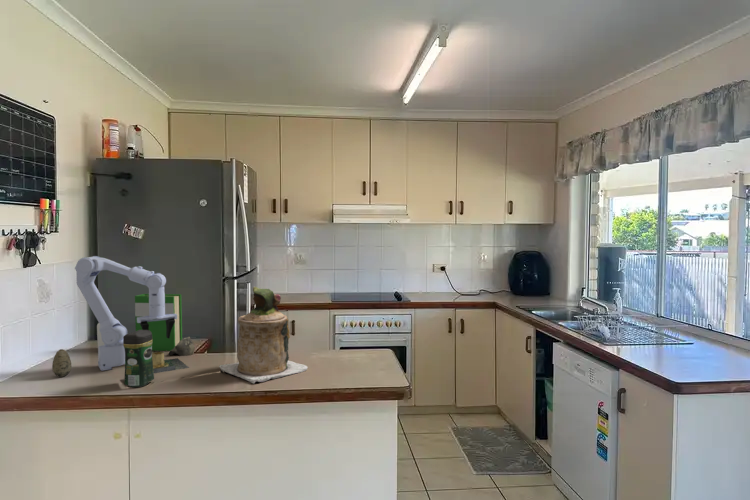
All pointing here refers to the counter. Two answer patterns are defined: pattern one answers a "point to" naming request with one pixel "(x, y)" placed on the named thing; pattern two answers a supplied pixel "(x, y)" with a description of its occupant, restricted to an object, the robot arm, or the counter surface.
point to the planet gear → (158, 360)
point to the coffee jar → (138, 358)
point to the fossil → (183, 348)
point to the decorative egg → (61, 363)
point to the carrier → (171, 366)
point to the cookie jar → (263, 342)
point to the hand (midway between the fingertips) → (157, 339)
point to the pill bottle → (99, 336)
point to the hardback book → (161, 321)
